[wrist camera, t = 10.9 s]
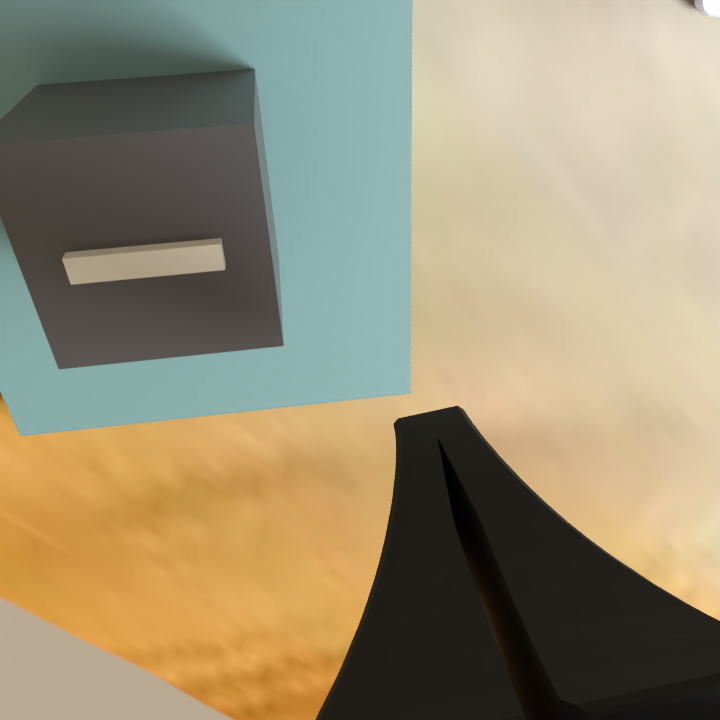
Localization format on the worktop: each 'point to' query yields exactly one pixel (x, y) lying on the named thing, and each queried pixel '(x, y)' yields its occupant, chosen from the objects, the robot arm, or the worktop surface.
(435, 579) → the robot arm
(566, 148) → the worktop surface
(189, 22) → the base
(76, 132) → the grey drawer cube
